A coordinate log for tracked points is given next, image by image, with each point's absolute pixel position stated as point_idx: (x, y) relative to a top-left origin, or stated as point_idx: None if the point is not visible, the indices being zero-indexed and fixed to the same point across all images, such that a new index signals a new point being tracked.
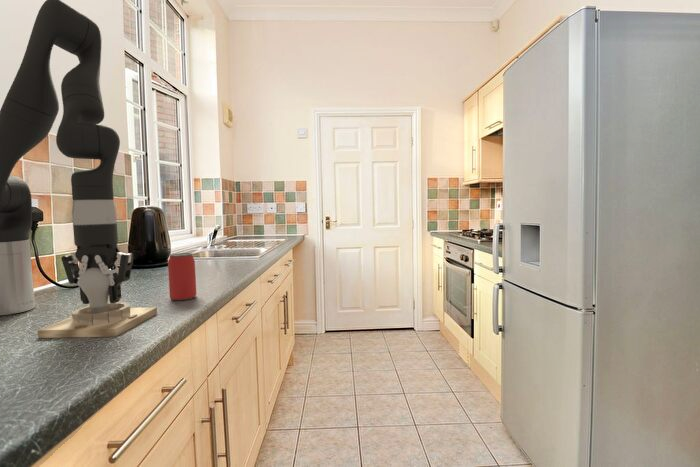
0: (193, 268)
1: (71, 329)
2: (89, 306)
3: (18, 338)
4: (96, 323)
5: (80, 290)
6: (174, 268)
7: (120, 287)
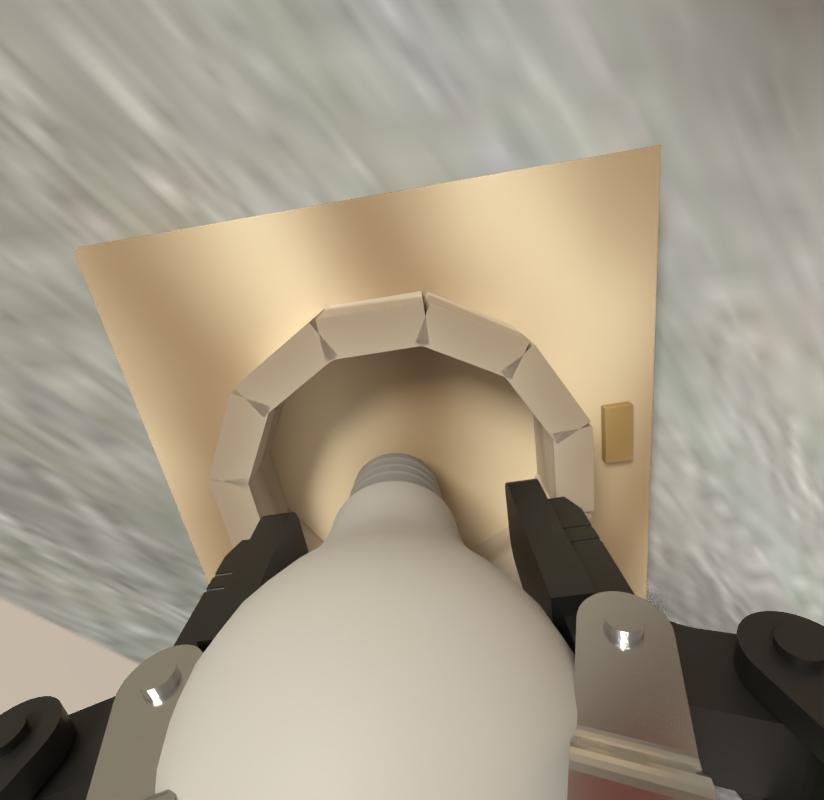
0: None
1: None
2: (242, 460)
3: (164, 641)
4: None
5: None
6: None
7: (622, 579)
